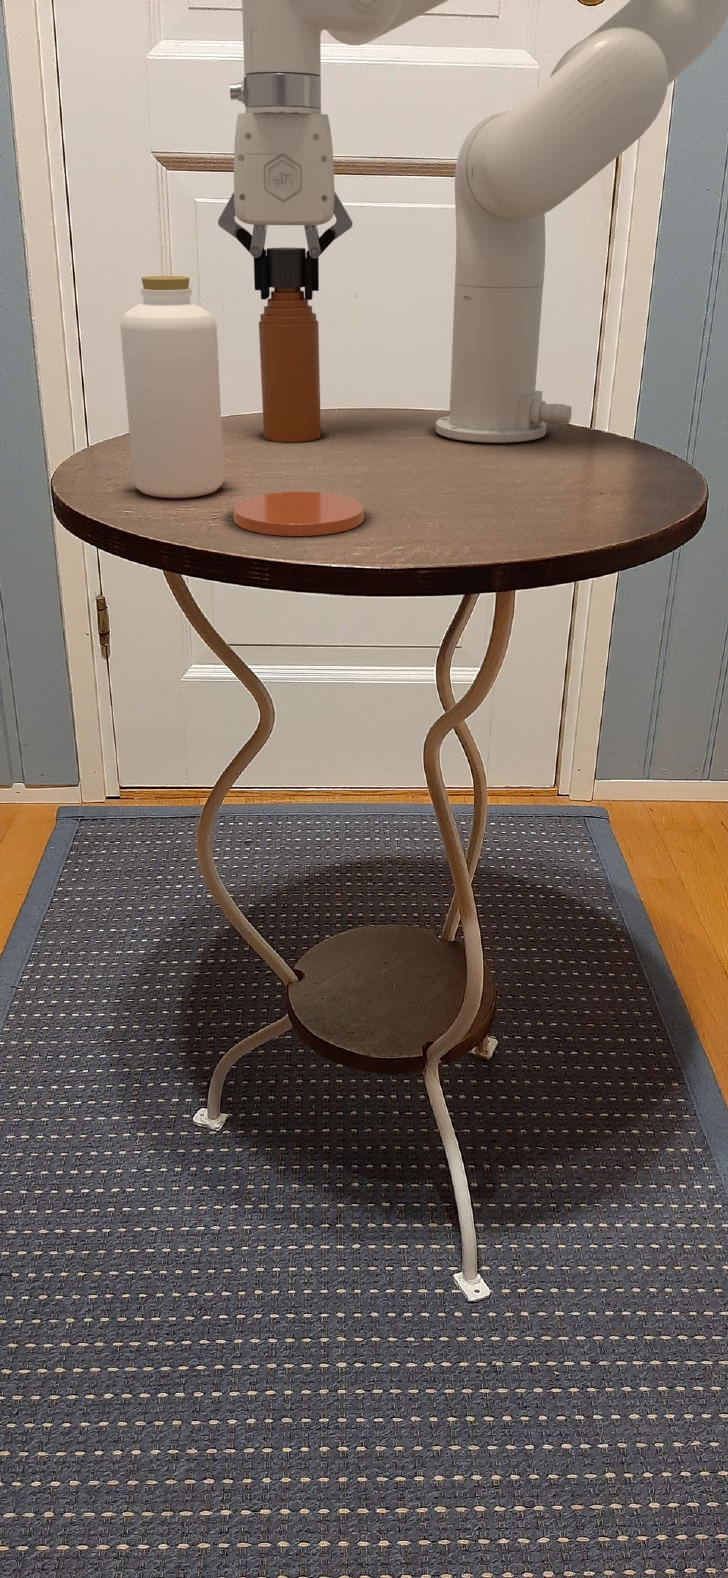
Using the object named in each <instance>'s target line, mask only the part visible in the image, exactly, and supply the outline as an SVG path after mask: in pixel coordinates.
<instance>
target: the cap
mask: <svg viewBox="0 0 728 1578" xmlns="http://www.w3.org/2000/svg"><path fill="white" fill-rule="evenodd" d="M265 250H266V259H267V267H268V287H270V288H272V289H274V288H305V278H304V259H306V252H307V251H306V250H307V249H306V248H305V247H267V248H266V249H265Z"/></svg>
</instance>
